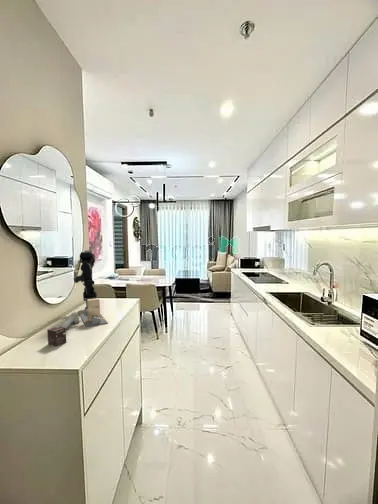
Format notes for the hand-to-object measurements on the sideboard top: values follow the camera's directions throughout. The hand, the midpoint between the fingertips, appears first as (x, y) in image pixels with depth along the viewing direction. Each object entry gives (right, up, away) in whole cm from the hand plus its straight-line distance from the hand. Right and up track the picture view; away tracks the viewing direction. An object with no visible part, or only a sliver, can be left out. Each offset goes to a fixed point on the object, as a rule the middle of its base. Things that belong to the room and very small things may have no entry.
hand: (88, 294), depth 197 cm
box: (+4, -16, -55) cm, 57 cm away
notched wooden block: (+10, -14, -18) cm, 25 cm away
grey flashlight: (-1, -15, -30) cm, 33 cm away
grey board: (+8, -14, -14) cm, 21 cm away
